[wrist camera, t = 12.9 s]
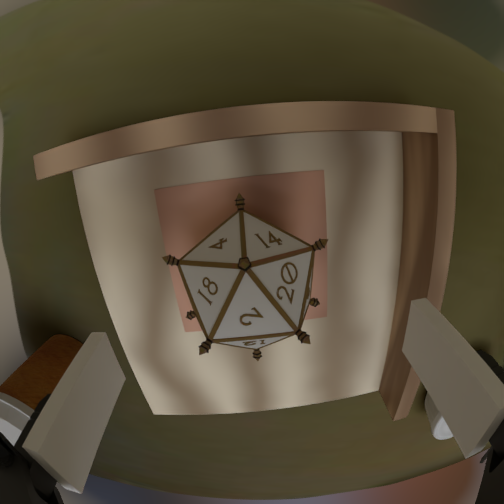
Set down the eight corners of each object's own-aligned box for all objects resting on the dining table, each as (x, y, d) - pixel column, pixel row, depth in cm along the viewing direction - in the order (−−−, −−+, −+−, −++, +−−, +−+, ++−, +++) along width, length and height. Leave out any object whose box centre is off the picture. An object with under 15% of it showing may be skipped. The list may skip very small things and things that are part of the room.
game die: (233, 218, 23) (215, 138, 14) (332, 271, 22) (381, 220, 12) (170, 318, 21) (104, 300, 12) (272, 379, 20) (281, 414, 10)
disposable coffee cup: (53, 301, 22) (-22, 389, 11) (132, 368, 25) (94, 475, 13) (25, 349, 24) (-28, 424, 13) (91, 403, 27) (57, 487, 16)
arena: (412, 112, 18) (454, 110, 13) (389, 383, 27) (406, 416, 22) (73, 149, 18) (33, 155, 13) (155, 410, 27) (145, 447, 22)
